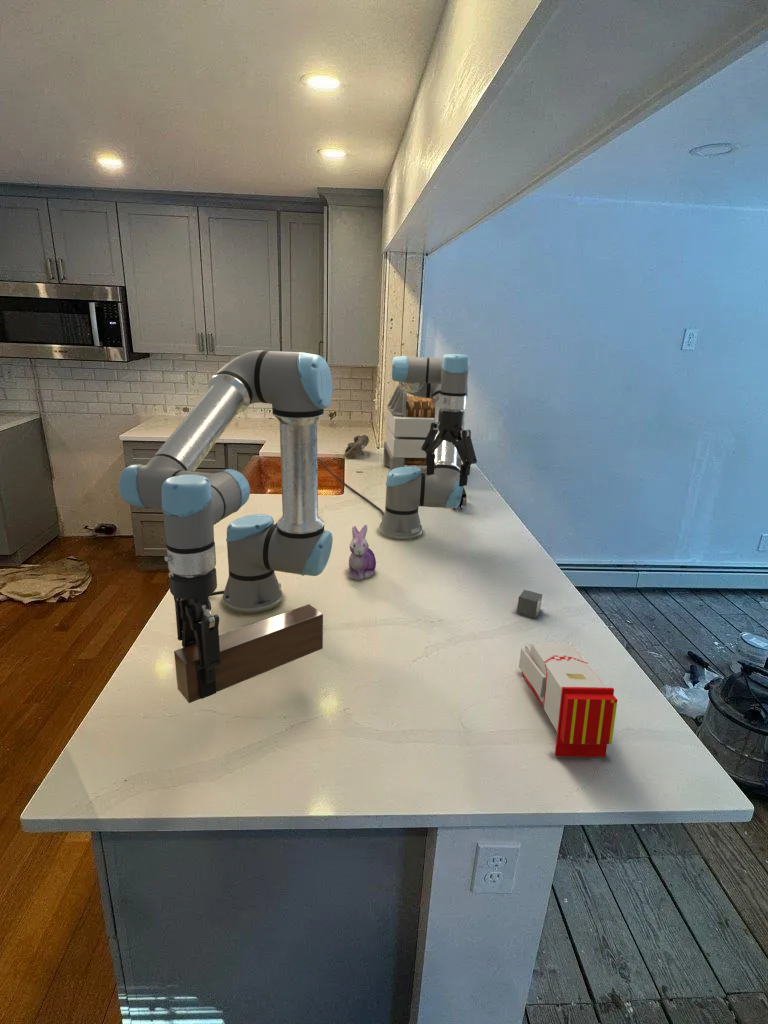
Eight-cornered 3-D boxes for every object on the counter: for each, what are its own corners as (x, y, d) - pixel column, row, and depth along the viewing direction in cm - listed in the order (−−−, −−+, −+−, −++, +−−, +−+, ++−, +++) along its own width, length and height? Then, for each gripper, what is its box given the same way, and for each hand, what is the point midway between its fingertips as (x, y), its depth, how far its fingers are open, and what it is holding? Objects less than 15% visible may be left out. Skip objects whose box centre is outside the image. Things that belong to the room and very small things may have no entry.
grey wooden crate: (382, 463, 289) (386, 382, 275) (445, 464, 293) (451, 384, 279) (390, 482, 257) (394, 392, 243) (460, 483, 261) (468, 394, 247)
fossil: (345, 441, 314) (366, 425, 309) (355, 454, 317) (377, 439, 312) (338, 454, 294) (361, 438, 289) (350, 469, 297) (372, 453, 292)
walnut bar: (177, 689, 101) (173, 650, 99) (309, 637, 119) (309, 604, 116) (189, 703, 98) (185, 664, 95) (322, 648, 115) (323, 613, 113)
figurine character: (467, 515, 225) (461, 499, 238) (469, 498, 221) (463, 482, 235) (450, 514, 224) (445, 498, 238) (452, 497, 221) (447, 482, 234)
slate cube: (516, 613, 151) (518, 596, 149) (521, 605, 155) (524, 589, 153) (535, 618, 148) (537, 601, 147) (540, 610, 152) (542, 594, 151)
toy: (567, 625, 127) (627, 695, 97) (561, 680, 130) (618, 764, 100) (513, 624, 126) (557, 694, 97) (508, 679, 129) (550, 763, 100)
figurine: (354, 583, 162) (355, 534, 157) (340, 569, 171) (341, 522, 166) (383, 577, 167) (385, 530, 161) (368, 563, 175) (369, 518, 170)
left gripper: (149, 555, 98) (161, 670, 106) (192, 596, 85) (202, 723, 93) (191, 546, 102) (200, 656, 110) (238, 583, 90) (244, 704, 97)
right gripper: (412, 404, 170) (408, 472, 177) (476, 417, 153) (469, 492, 160) (430, 402, 175) (425, 468, 182) (494, 415, 157) (486, 488, 164)
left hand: (201, 686), depth 101 cm, fingers closed on walnut bar, 5 cm apart
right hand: (446, 480), depth 171 cm, fingers open, 13 cm apart
